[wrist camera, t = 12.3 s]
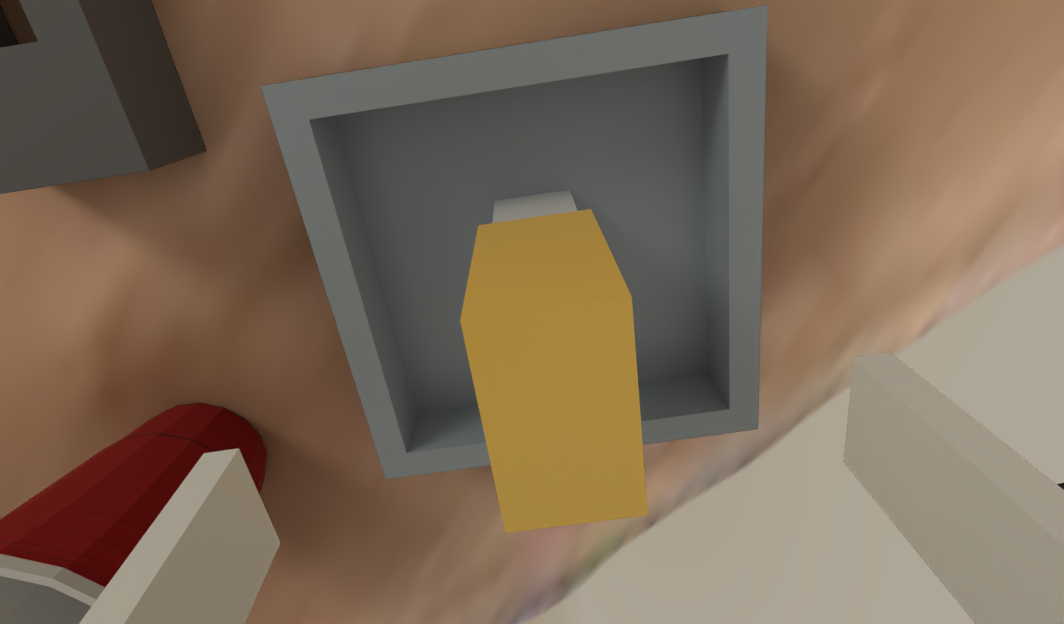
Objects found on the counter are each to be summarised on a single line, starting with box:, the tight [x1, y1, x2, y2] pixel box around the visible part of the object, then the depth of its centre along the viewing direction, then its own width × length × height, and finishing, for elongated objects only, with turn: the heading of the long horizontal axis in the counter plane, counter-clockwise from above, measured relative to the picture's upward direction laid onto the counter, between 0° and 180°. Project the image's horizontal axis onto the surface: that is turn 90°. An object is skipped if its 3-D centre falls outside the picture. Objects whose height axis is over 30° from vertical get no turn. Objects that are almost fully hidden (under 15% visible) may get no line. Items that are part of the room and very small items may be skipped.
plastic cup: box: [0, 403, 267, 624], centre depth 24 cm, size 11×11×12 cm
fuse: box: [460, 190, 648, 533], centre depth 19 cm, size 4×6×12 cm, turn 8°
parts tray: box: [261, 5, 768, 479], centre depth 23 cm, size 16×16×4 cm
